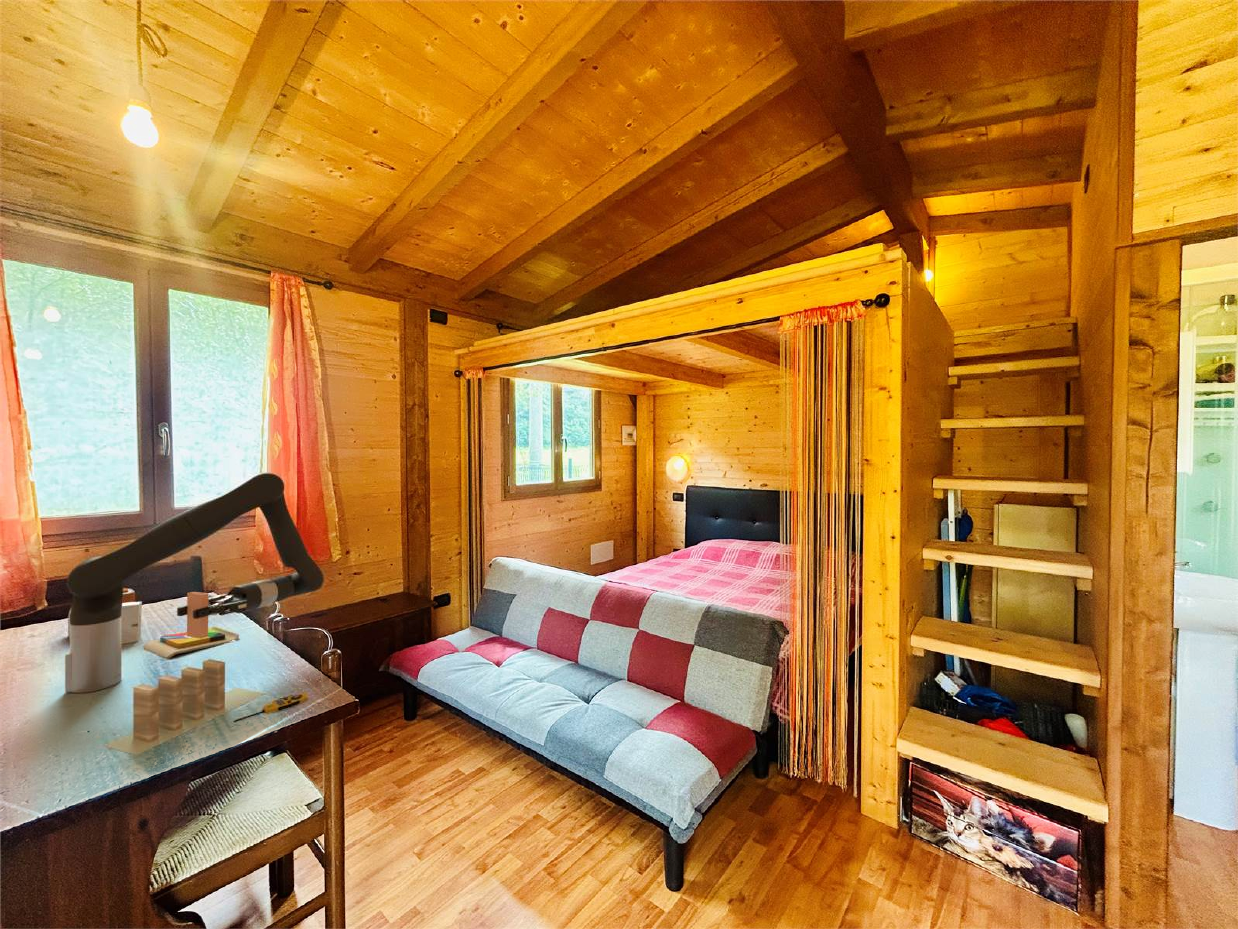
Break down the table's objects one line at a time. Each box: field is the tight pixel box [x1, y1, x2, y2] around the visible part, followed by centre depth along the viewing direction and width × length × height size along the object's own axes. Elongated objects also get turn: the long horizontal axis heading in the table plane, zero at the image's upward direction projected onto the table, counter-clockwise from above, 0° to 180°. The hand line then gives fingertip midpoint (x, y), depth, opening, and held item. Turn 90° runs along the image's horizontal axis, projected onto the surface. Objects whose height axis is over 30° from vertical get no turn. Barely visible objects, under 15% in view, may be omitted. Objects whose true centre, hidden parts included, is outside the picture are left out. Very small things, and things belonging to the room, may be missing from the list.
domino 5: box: [202, 659, 226, 711], centre depth 118 cm, size 2×5×11 cm, turn 74°
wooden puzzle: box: [142, 625, 240, 660], centre depth 157 cm, size 18×19×4 cm
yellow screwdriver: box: [232, 692, 309, 723], centre depth 118 cm, size 5×2×15 cm
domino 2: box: [157, 674, 183, 731], centre depth 109 cm, size 2×5×11 cm, turn 74°
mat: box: [103, 687, 266, 756], centre depth 114 cm, size 27×10×1 cm, turn 164°
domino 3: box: [186, 591, 209, 639], centre depth 125 cm, size 2×5×11 cm, turn 74°
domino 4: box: [180, 666, 205, 721], centre depth 113 cm, size 2×5×11 cm, turn 74°
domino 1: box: [132, 683, 159, 743], centre depth 105 cm, size 2×5×11 cm, turn 74°
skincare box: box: [121, 601, 143, 645], centre depth 158 cm, size 6×4×12 cm
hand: (186, 613), depth 123 cm, fingers closed on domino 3, 5 cm apart
